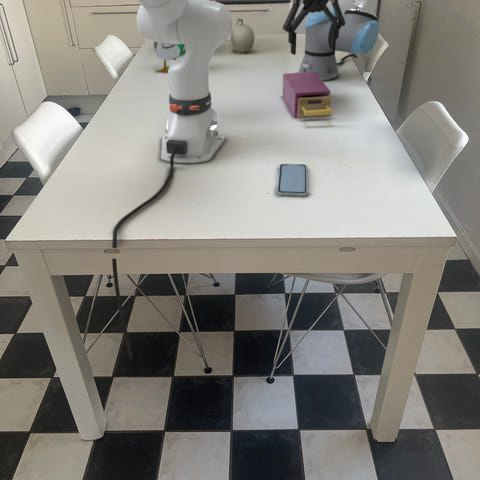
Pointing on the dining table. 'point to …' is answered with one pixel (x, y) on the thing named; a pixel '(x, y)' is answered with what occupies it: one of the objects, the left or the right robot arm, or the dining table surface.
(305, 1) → the right robot arm
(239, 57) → the dining table surface
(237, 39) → the fruit
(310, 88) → the purple drawer cabinet
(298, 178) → the smartphone
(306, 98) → the drawer
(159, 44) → the toy
